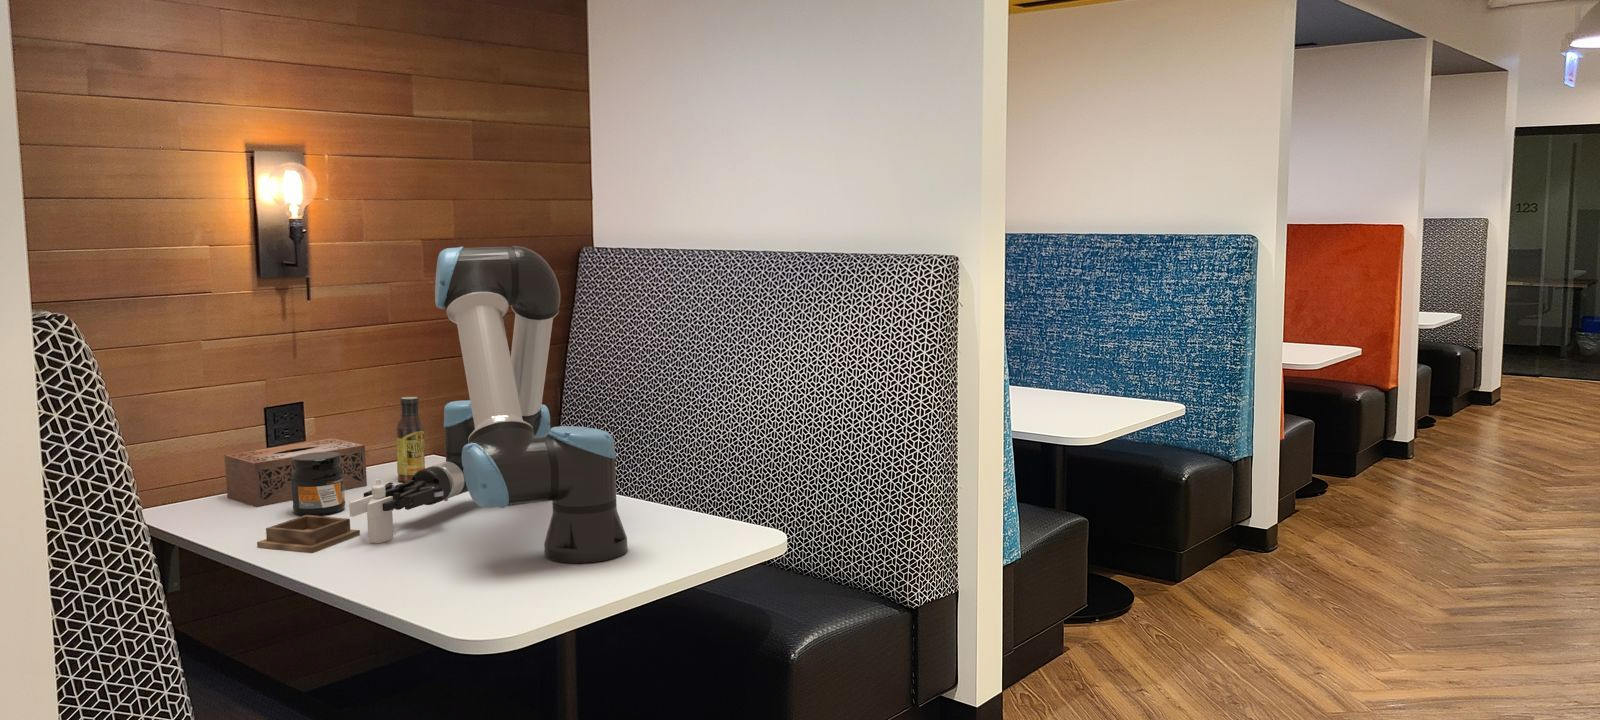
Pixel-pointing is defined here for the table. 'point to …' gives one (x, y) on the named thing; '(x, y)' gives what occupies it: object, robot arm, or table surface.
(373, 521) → the eye dropper bottle
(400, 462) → the sauce bottle
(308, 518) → the square wooden tray stand
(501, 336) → the robot arm
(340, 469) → the supplement container
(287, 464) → the tissue box cover
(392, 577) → the table surface
